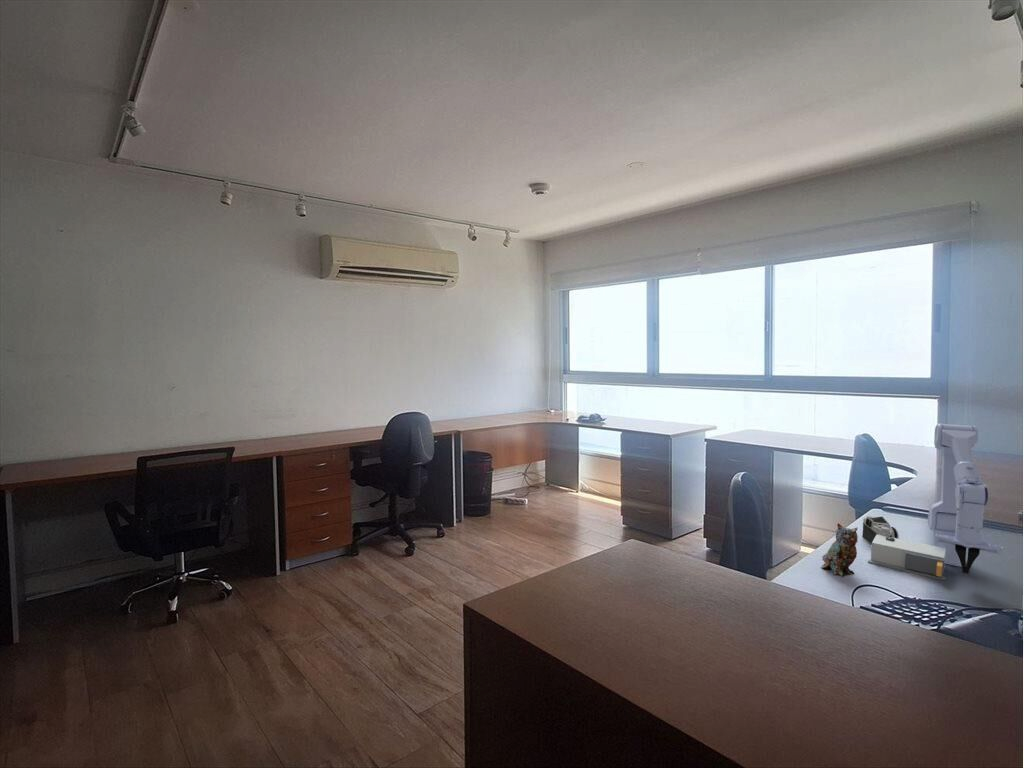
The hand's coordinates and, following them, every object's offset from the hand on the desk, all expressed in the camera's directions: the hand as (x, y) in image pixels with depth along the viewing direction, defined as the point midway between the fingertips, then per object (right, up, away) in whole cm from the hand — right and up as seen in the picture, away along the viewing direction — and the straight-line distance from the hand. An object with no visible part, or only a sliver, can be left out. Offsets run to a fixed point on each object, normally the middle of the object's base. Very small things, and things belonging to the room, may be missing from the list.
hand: (965, 572), depth 154 cm
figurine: (-30, -4, +10) cm, 32 cm away
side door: (-6, -3, +7) cm, 10 cm away
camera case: (-5, -3, +16) cm, 17 cm away
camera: (-2, -2, +32) cm, 32 cm away
